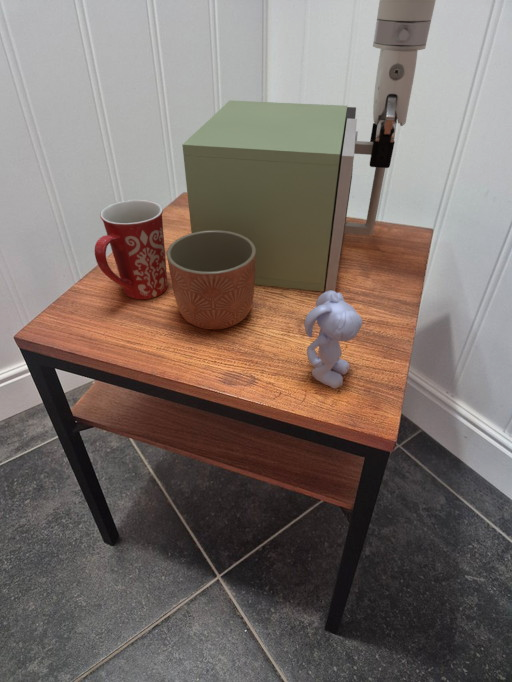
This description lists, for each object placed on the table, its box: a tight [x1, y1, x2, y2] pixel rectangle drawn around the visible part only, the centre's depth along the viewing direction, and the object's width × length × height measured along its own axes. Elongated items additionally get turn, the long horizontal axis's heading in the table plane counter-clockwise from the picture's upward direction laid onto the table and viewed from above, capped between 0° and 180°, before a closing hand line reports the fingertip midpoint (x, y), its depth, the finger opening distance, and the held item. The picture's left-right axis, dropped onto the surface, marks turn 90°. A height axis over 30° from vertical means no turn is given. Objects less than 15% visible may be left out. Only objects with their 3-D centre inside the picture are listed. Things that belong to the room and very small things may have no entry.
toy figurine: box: [304, 290, 363, 389], centre depth 54 cm, size 7×6×12 cm
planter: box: [166, 230, 256, 330], centre depth 64 cm, size 12×12×11 cm
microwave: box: [182, 100, 359, 293], centre depth 77 cm, size 24×28×22 cm
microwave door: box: [324, 118, 386, 292], centre depth 72 cm, size 7×20×22 cm, turn 169°
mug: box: [94, 199, 168, 300], centre depth 68 cm, size 13×9×14 cm
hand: (378, 157), depth 74 cm, fingers open, 9 cm apart
